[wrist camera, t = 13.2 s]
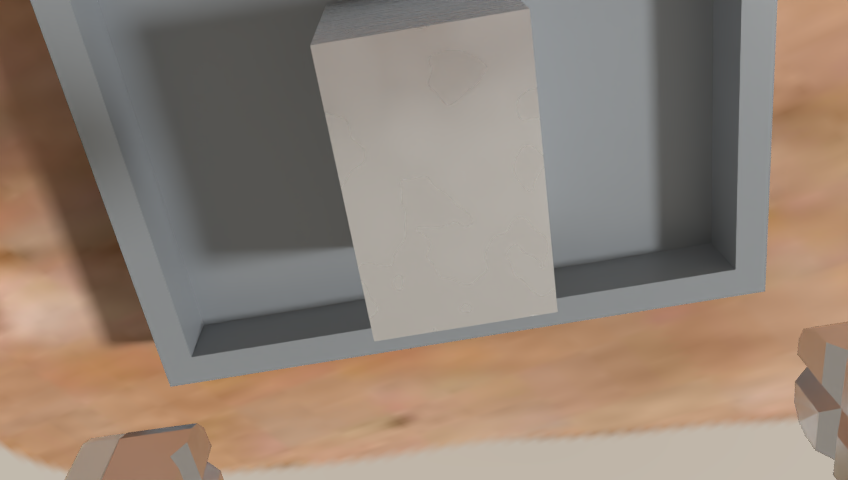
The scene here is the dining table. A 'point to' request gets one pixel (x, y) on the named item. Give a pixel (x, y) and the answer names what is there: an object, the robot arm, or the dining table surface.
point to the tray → (320, 187)
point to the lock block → (438, 159)
